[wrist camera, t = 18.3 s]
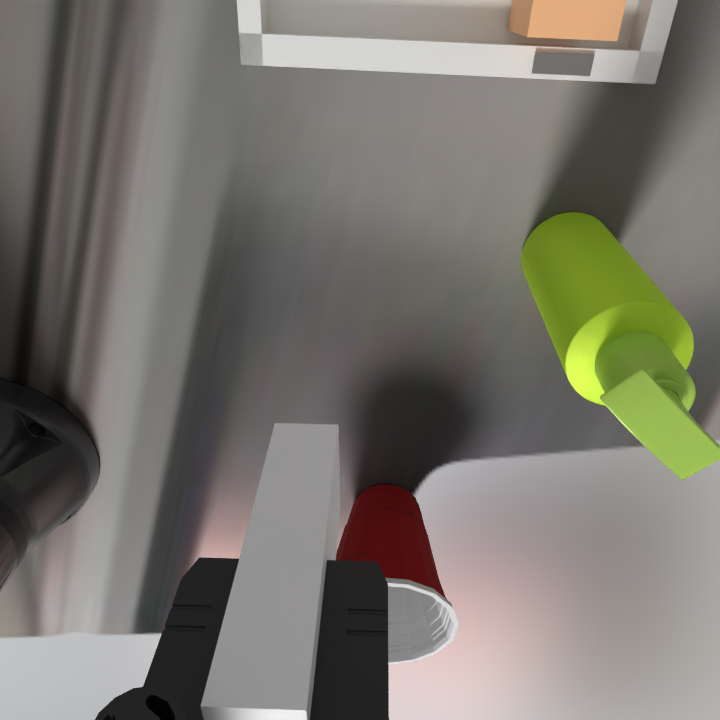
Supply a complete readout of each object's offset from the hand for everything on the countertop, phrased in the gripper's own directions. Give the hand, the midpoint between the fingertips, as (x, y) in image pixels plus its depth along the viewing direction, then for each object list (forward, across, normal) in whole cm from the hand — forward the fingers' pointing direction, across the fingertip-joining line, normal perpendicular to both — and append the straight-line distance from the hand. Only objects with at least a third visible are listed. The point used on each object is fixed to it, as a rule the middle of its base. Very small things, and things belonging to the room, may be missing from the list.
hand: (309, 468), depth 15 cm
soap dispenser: (+27, +14, -4) cm, 31 cm away
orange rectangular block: (+26, +10, +10) cm, 29 cm away
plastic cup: (+28, +3, -29) cm, 40 cm away
